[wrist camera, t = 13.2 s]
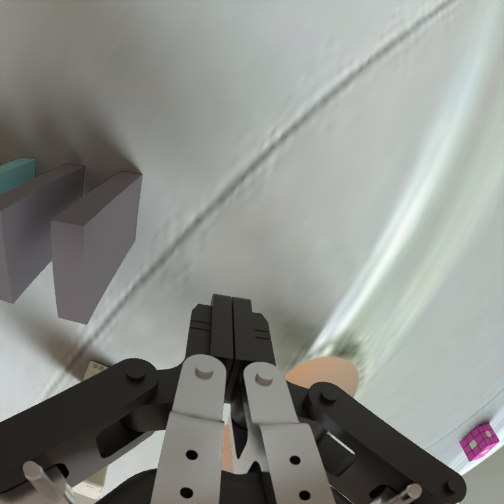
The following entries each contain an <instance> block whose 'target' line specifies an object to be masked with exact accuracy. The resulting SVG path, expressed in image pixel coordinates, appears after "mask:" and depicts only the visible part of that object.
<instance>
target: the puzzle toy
mask: <svg viewBox="0 0 504 504" xmlns="http://www.w3.org/2000/svg"><path fill="white" fill-rule="evenodd" d="M498 442H499V439H498V437H497V436H496V434H495V432H494V431H493V429H492V427H491V426H490V424H485V425H481V426H477V427H476V428H475V429H474V430H473V431H472V432H471V433H470V434H469V435H467V436H466V437H465V438H464V439H463V440H462V441H461V442H460V444H461V446H462V448H463V450H464V452H465V454H466V456H467V458H468V460H469V461H473V460H475V459H478V458H481V457H483V456H484V455H485V454H486V453H487V452H489V451H490V450H491V449H492V448H493V447H494V446H495V445H496V444H497V443H498Z"/></svg>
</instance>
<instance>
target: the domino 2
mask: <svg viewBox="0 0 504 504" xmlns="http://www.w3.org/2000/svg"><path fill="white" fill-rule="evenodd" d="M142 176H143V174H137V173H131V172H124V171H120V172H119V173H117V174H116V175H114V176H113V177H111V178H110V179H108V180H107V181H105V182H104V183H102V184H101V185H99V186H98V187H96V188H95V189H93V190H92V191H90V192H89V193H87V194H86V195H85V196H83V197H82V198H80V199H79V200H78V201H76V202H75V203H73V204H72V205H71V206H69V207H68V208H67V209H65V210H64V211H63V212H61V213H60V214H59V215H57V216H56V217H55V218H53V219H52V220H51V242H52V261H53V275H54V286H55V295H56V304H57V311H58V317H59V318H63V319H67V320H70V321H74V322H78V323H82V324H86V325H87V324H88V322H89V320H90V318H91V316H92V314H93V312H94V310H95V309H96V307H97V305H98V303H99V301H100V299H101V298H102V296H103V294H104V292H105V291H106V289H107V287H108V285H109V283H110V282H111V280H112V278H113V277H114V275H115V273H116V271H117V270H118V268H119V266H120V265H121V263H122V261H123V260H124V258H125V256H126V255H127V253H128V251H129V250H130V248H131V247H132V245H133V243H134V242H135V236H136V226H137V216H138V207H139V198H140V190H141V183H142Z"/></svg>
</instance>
